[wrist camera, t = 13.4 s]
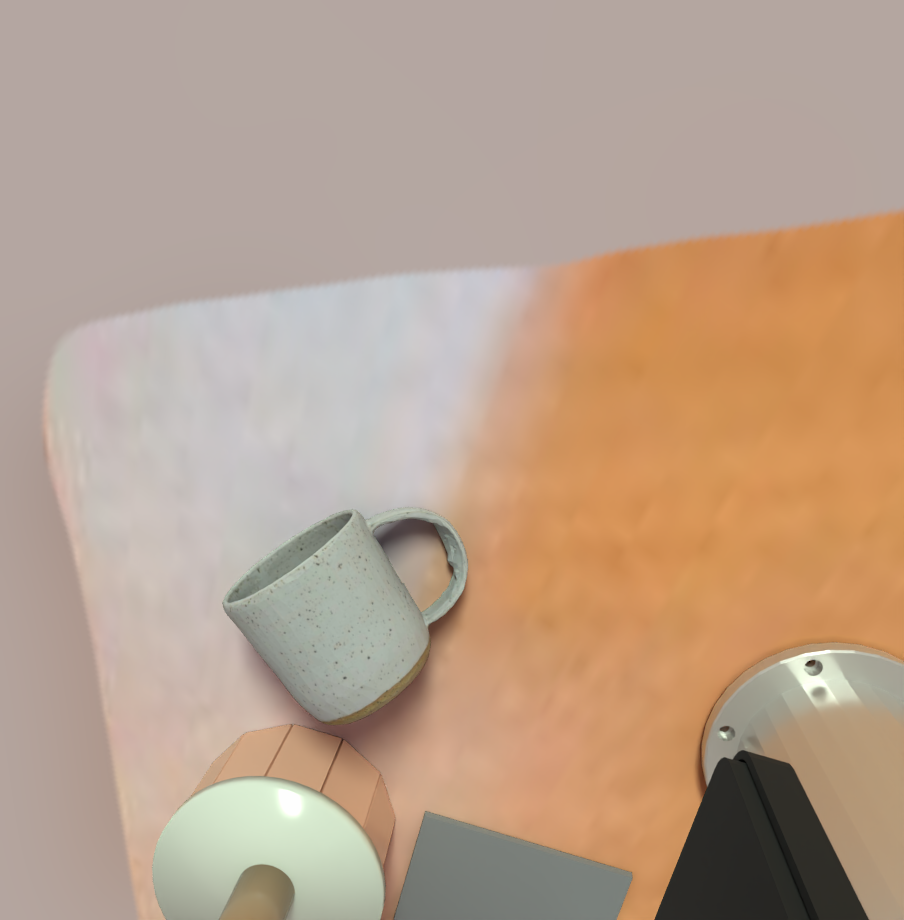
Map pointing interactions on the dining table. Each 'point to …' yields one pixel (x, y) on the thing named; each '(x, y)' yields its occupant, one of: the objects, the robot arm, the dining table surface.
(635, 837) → the dining table surface
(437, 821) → the placemat
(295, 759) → the round wooden tub
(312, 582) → the ceramic mug
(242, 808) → the lid
